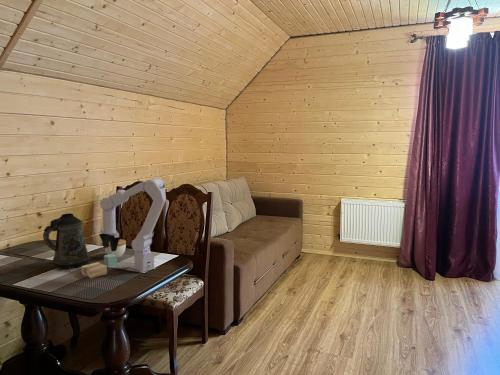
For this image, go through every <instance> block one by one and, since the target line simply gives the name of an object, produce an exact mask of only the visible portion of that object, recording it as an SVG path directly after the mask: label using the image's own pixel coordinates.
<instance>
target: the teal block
mask: <svg viewBox="0 0 500 375" xmlns="http://www.w3.org/2000/svg"><path fill="white" fill-rule="evenodd" d="M103 265H106V266H107V269H108V268H113V267H117V266H118V258H117V255H114V254H109V255H107V254H105V255H103Z"/></svg>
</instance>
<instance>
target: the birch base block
mask: <svg viewBox="0 0 500 375" xmlns="http://www.w3.org/2000/svg"><path fill="white" fill-rule="evenodd" d="M80 268H81V275H82V276H85V277H86V278H89V279H93V278H97V277H100V276H105V275H107V274H108V267H107V266H106V265H104V263H103V264H102V263H100V262H99V261H97V262H93V263H90V264H89V263H88V264H87V265H84V266H81V267H80Z"/></svg>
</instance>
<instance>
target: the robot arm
mask: <svg viewBox="0 0 500 375" xmlns="http://www.w3.org/2000/svg"><path fill="white" fill-rule="evenodd" d="M166 186H167V185H166V184H165V182H164V180H163V179H162V178H160V177H155V178H153V179H148V180H145V181H141V182H139V183H138V184H135V185H133V186H132V187H130V188H128V189H126V190H125V189H118V190H116V192H115V193H113V194H111V193H110V194H109V195H108V196H107V197H103V198H102V199H101V200H100V202H99V205H100V208H101V209H102V227H101V228H100V233H99V234H98V236H99V237H100V241H101V242H102V246H103V248H104V249H105V248H108V247H109V241H110V245H111V251H116V250H117V245H118V242H119V240H120V239H121V236H120V233H119V232H118V231H117V229H116V228H117V226H116V225H117V224H116V221H117V220H116V208H117V207H118V206H119V205H120V206H121V204H123V203H126V202H128V201H129V198H130V197H133V195H136V194H138V193H141V192H144V193H145V192H146V193H147V194H148V195H149V197H150V198H151V199H152V203H151V207H150V208H149V210H148V213H147V216H146V218H145V221H144V222H143V225H142V227H141V229H140V231H139V232H138V233H137V234H136V237H135V238H134V239H133V240H132V241H131V248H132V249H133V253H134V255H133V256H134V257H133V258H134V265H131V266H130V268H131V269H133V270H135V271H138V272H140V273H144V272H148V271H150V270H151V271H152V270H155V269H157V268H156V266H155V256H154V253H152V251H151V245H152V243H153V236H154V234H153V231H154V229H155V227H156V224H157V222H158V220H159V217H160V215H161V213H162V210H163V208H164V206H165V203H166V201H167V196H166Z"/></svg>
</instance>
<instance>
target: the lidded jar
mask: <svg viewBox="0 0 500 375" xmlns="http://www.w3.org/2000/svg"><path fill="white" fill-rule="evenodd" d="M126 246H127V240H125V239H121V238H120V240H119V242H118V245H117V250H116V251H111V245H110V241H109V247H108V248H104V251H105V253H106V255H109V254H114V255H117V259H118V258H120V257H122V256H123V254H124V253H126V248H127V247H126Z"/></svg>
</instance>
